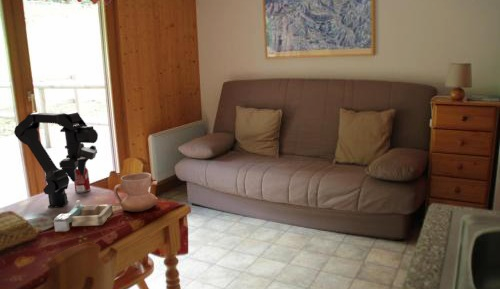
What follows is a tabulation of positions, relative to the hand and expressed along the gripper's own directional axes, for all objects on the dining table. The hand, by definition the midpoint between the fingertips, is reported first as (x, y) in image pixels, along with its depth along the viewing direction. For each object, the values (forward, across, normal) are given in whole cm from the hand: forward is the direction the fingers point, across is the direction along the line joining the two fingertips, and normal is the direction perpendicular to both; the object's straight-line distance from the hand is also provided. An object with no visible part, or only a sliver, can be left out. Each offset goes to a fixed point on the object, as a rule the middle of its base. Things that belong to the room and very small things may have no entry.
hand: (78, 178), depth 178 cm
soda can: (+13, +22, +8) cm, 27 cm away
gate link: (+12, -14, -1) cm, 18 cm away
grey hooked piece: (+13, -15, -1) cm, 20 cm away
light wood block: (+13, -14, -9) cm, 21 cm away
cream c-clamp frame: (+13, -14, -9) cm, 21 cm away
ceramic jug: (+13, -4, -25) cm, 29 cm away
